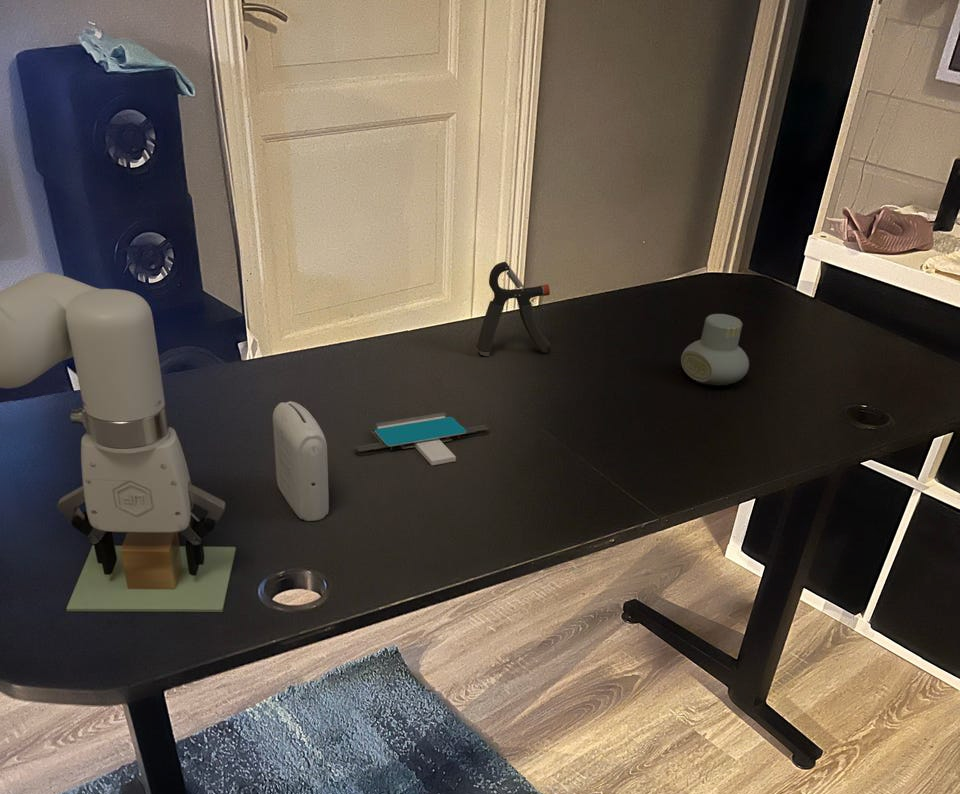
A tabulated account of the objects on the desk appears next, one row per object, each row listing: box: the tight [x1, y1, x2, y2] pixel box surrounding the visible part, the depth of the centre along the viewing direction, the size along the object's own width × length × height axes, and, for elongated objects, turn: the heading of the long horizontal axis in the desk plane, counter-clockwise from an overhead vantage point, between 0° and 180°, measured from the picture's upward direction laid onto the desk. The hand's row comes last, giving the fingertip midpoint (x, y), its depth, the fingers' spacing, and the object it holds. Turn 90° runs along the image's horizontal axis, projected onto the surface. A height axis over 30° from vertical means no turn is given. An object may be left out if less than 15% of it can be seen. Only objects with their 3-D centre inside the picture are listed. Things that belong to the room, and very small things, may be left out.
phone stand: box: [354, 411, 490, 466], centre depth 135 cm, size 20×12×2 cm, turn 117°
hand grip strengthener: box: [476, 261, 552, 353], centre depth 158 cm, size 2×13×15 cm, turn 103°
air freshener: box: [680, 313, 750, 386], centre depth 157 cm, size 11×8×10 cm
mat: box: [65, 544, 237, 613], centre depth 107 cm, size 16×12×1 cm
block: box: [120, 532, 182, 589], centre depth 105 cm, size 5×5×5 cm
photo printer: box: [272, 400, 330, 522], centre depth 118 cm, size 10×4×12 cm, turn 28°
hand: (153, 567), depth 106 cm, fingers open, 8 cm apart
